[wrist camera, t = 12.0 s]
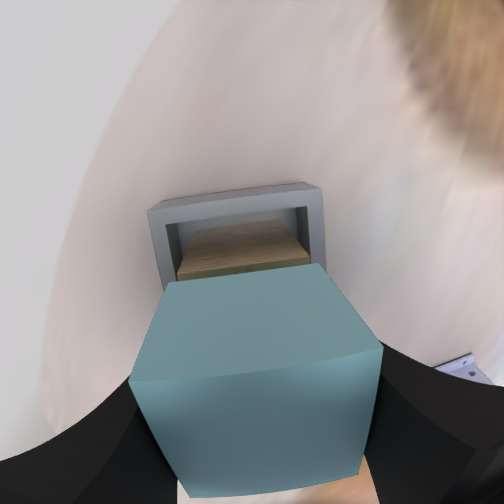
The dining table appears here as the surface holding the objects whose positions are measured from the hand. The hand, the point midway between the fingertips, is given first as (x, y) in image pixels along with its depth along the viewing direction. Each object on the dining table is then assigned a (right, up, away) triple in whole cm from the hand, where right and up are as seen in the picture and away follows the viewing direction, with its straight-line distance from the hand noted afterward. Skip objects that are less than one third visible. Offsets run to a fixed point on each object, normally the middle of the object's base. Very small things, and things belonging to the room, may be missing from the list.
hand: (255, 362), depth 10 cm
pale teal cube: (0, +1, +1) cm, 1 cm away
